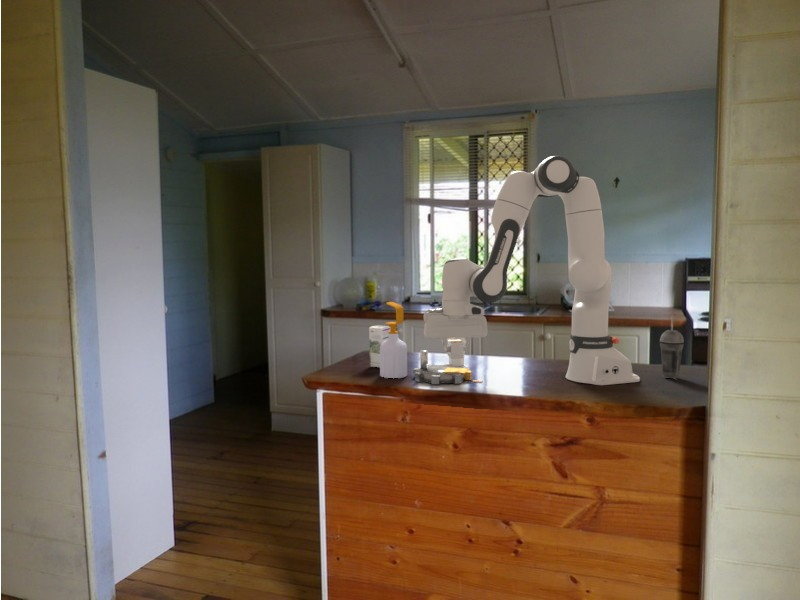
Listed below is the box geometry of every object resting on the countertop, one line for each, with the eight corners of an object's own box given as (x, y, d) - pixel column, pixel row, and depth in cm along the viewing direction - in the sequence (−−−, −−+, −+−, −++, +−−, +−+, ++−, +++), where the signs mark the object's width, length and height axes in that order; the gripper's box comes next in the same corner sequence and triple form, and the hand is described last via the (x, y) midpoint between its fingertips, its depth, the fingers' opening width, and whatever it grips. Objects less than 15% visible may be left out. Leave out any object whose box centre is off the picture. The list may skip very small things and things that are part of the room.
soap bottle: (389, 372, 210) (388, 300, 208) (412, 374, 206) (411, 301, 203) (374, 377, 203) (373, 303, 200) (398, 380, 198) (397, 304, 196)
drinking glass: (466, 363, 223) (465, 322, 222) (466, 367, 216) (466, 325, 215) (447, 363, 224) (447, 322, 222) (446, 367, 217) (446, 325, 215)
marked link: (459, 354, 201) (459, 339, 200) (463, 358, 195) (463, 342, 194) (447, 355, 200) (447, 339, 200) (451, 358, 194) (451, 342, 194)
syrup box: (391, 365, 221) (391, 325, 219) (382, 368, 216) (381, 327, 214) (378, 364, 224) (377, 324, 222) (369, 367, 219) (368, 326, 217)
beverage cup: (658, 379, 195) (660, 316, 193) (657, 374, 201) (659, 314, 199) (684, 381, 192) (686, 317, 190) (682, 376, 199) (684, 314, 197)
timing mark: (472, 381, 195) (472, 380, 195) (473, 381, 196) (473, 380, 196) (481, 382, 193) (481, 381, 193) (482, 381, 194) (482, 380, 194)
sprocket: (421, 370, 211) (421, 345, 210) (476, 373, 205) (476, 347, 205) (406, 382, 193) (405, 355, 192) (465, 386, 187) (465, 358, 187)
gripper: (425, 310, 192) (425, 354, 193) (489, 309, 194) (488, 352, 195) (421, 308, 198) (422, 350, 199) (484, 307, 200) (483, 349, 202)
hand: (455, 351), depth 197 cm, fingers closed on marked link, 4 cm apart
